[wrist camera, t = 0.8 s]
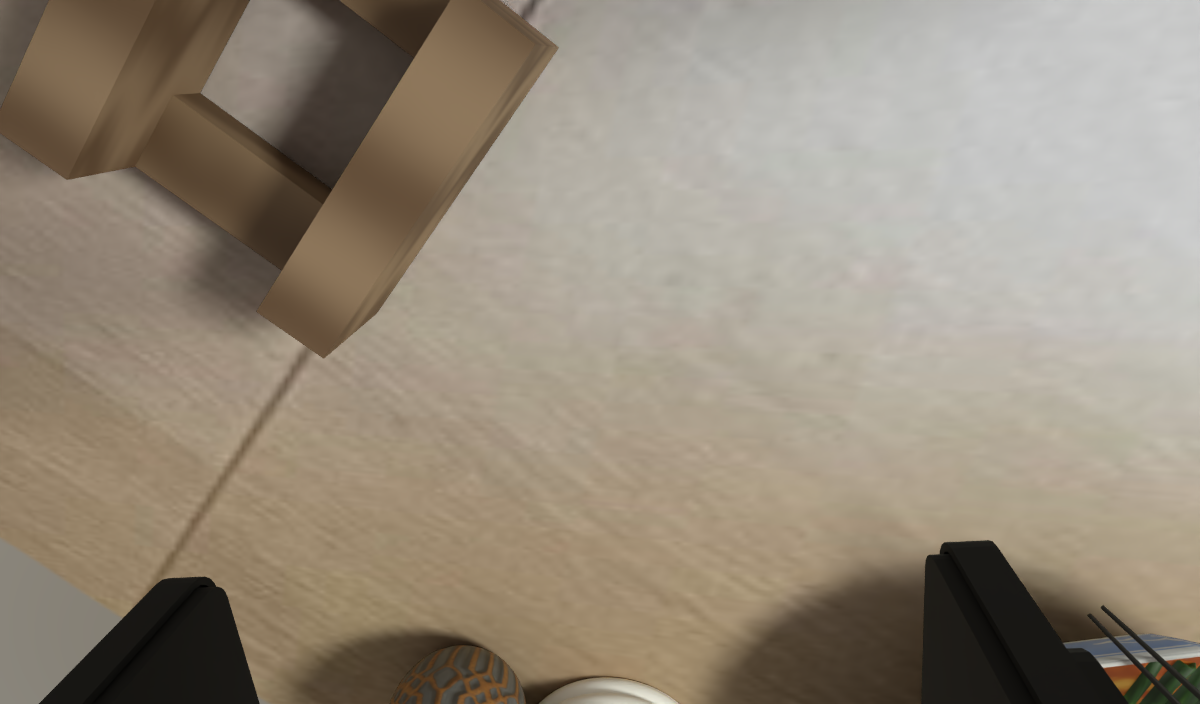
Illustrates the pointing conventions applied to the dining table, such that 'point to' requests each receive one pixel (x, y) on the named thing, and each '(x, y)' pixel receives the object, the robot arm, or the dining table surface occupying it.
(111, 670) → the robot arm
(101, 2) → the socket
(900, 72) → the dining table surface
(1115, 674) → the ramen bowl
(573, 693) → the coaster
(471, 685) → the vase
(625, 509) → the dining table surface
